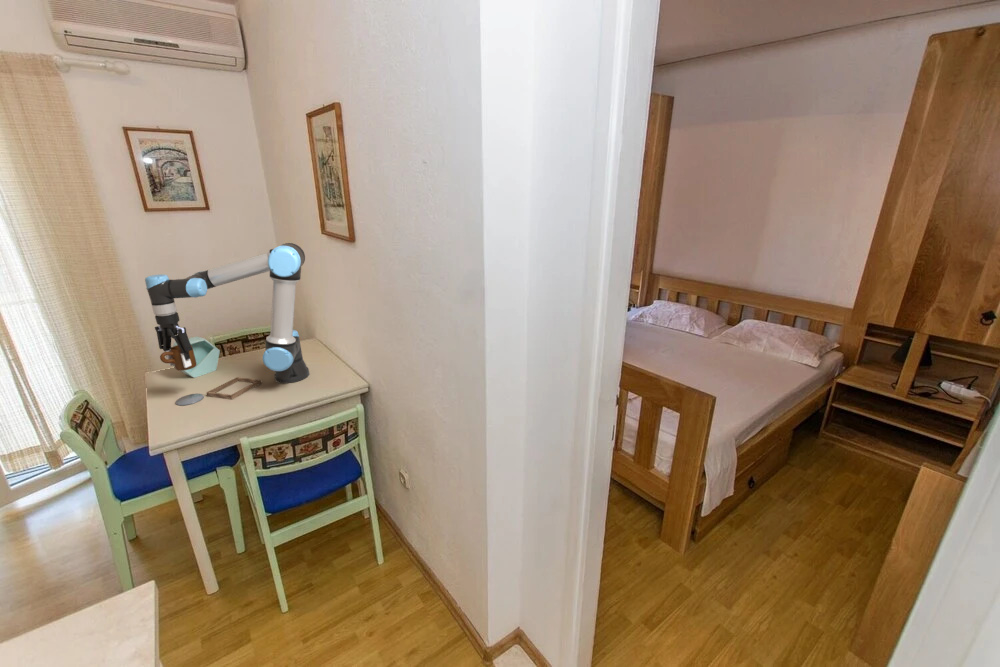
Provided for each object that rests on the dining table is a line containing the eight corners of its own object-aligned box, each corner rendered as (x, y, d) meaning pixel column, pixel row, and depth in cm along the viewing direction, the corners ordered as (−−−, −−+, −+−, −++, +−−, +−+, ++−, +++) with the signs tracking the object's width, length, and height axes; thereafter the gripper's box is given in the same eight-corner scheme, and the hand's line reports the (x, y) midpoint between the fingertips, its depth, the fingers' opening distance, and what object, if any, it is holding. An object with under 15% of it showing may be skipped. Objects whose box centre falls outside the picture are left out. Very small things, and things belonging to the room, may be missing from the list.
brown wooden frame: (261, 383, 203) (260, 379, 202) (232, 399, 188) (231, 395, 187) (238, 380, 206) (237, 377, 206) (207, 396, 191) (206, 392, 190)
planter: (203, 384, 214) (168, 359, 199) (195, 380, 218) (159, 356, 203) (228, 357, 222) (196, 331, 207) (219, 354, 226) (187, 329, 211)
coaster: (209, 396, 191) (208, 394, 191) (188, 406, 182) (188, 405, 182) (191, 393, 194) (191, 392, 194) (170, 404, 185) (169, 402, 184)
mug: (169, 376, 177) (163, 354, 174) (160, 372, 180) (154, 351, 177) (200, 366, 187) (195, 345, 184) (191, 362, 190) (186, 342, 187)
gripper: (194, 312, 176) (207, 364, 183) (156, 309, 181) (170, 360, 189) (176, 317, 169) (191, 371, 177) (137, 314, 175) (153, 366, 182)
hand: (180, 365), depth 183 cm, fingers closed on mug, 7 cm apart
